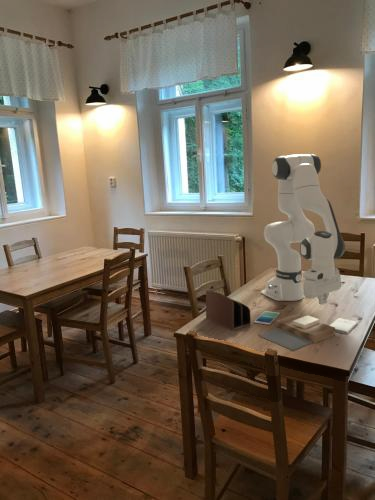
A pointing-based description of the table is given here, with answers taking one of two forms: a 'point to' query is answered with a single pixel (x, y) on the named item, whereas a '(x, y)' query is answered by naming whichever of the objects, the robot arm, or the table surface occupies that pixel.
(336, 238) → the robot arm
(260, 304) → the table surface
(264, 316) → the smartphone
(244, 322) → the letter holder
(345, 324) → the external hard drive
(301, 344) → the mat
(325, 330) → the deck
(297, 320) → the cream flat block
